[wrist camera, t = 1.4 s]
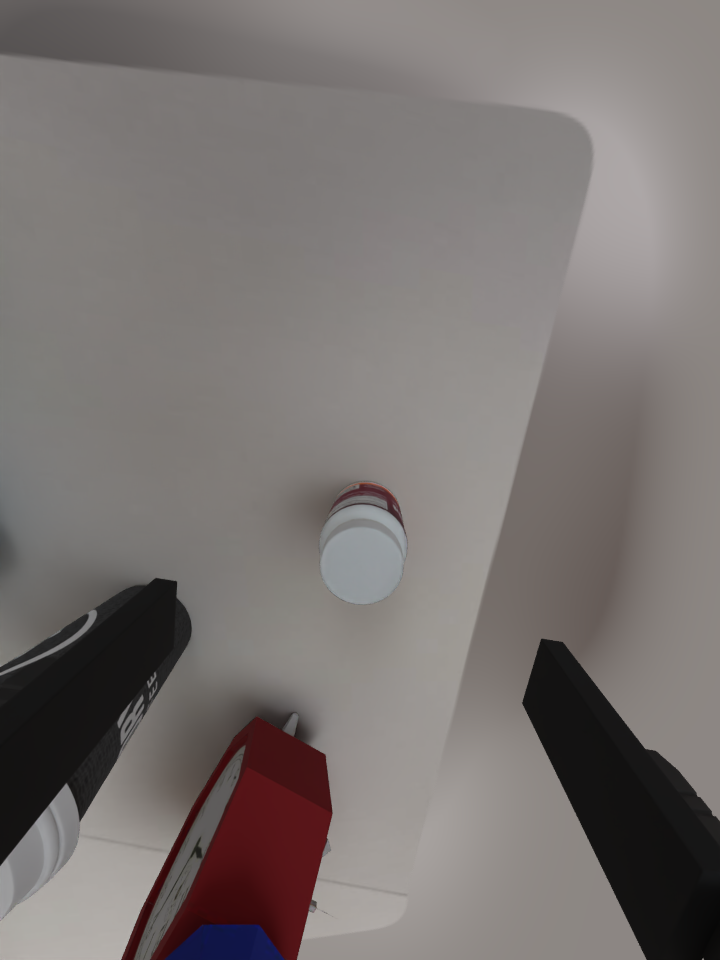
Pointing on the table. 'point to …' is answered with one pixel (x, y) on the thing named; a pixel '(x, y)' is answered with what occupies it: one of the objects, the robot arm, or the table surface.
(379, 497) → the pill bottle
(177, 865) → the alarm clock
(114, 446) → the table surface
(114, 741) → the coffee cup
